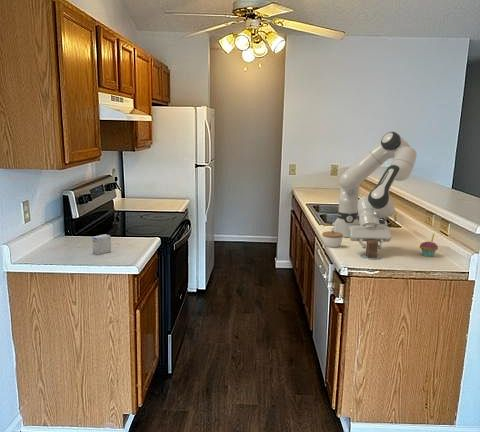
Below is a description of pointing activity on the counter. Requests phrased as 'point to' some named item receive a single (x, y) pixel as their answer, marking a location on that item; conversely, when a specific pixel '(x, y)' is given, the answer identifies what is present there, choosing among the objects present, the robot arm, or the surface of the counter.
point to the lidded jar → (332, 239)
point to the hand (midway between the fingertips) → (372, 248)
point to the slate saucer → (371, 258)
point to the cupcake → (429, 248)
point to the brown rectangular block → (371, 248)
